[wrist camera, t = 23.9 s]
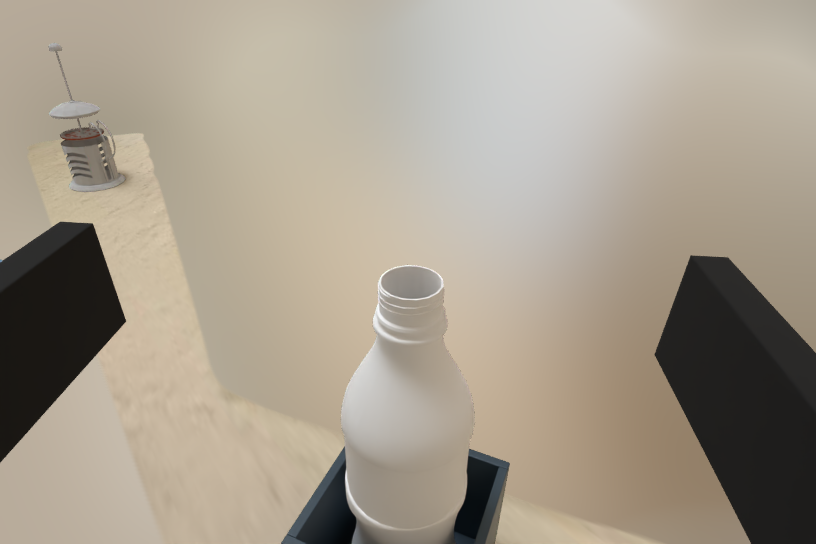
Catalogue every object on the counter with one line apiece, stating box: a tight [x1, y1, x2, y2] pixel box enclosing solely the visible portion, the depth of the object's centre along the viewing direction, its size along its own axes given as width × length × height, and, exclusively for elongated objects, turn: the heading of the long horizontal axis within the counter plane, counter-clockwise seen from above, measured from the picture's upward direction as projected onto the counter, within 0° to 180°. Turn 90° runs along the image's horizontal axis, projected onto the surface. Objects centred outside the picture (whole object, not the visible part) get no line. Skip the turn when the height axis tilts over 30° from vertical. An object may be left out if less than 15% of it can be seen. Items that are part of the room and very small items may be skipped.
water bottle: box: [341, 265, 475, 544], centre depth 29 cm, size 7×7×25 cm
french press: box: [49, 43, 125, 192], centre depth 93 cm, size 10×12×25 cm
